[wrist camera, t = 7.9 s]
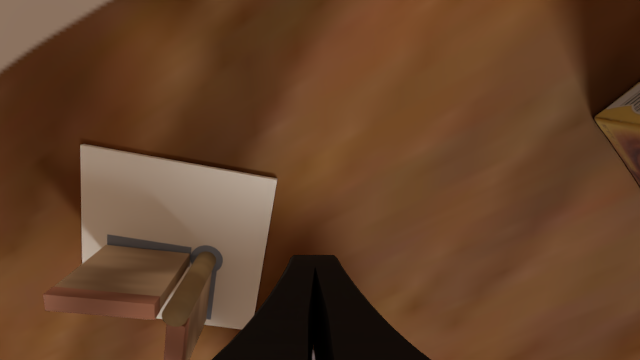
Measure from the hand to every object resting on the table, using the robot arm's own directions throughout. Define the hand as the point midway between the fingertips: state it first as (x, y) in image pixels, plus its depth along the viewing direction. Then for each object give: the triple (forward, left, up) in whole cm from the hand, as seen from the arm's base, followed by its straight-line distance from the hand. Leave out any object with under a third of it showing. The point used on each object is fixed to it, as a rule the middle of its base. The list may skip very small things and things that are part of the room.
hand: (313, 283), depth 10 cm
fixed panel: (-8, +5, -10) cm, 14 cm away
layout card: (-6, +8, -10) cm, 14 cm away
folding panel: (-6, +9, -9) cm, 15 cm away
